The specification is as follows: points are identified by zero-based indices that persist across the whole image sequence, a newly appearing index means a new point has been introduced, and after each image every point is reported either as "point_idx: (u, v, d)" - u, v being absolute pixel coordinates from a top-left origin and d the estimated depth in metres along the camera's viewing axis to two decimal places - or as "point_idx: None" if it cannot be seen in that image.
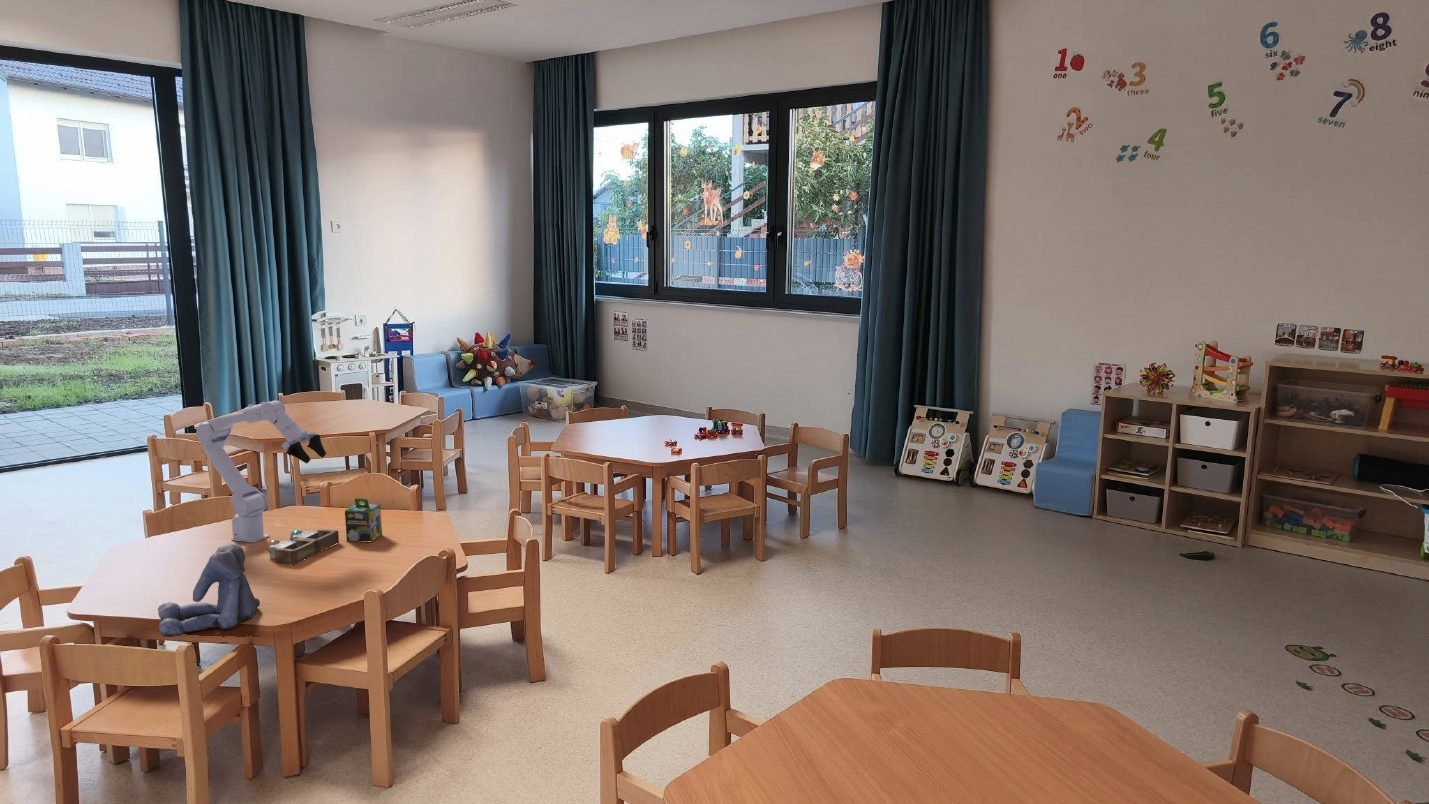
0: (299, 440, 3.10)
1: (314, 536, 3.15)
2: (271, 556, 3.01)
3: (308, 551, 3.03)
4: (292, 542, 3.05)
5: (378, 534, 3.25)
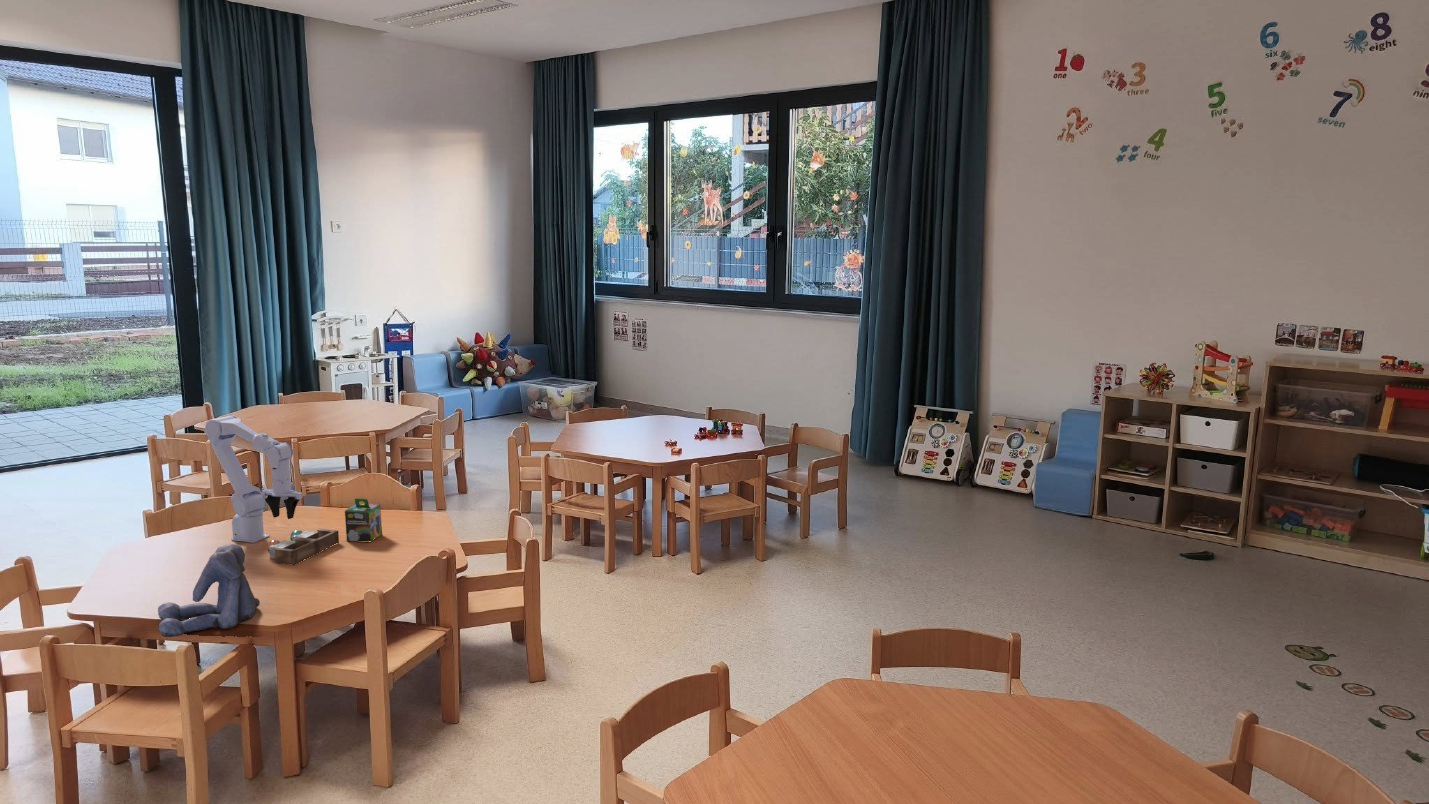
0: None
1: (314, 536, 3.15)
2: (271, 556, 3.01)
3: (308, 551, 3.03)
4: (292, 542, 3.05)
5: (378, 534, 3.25)
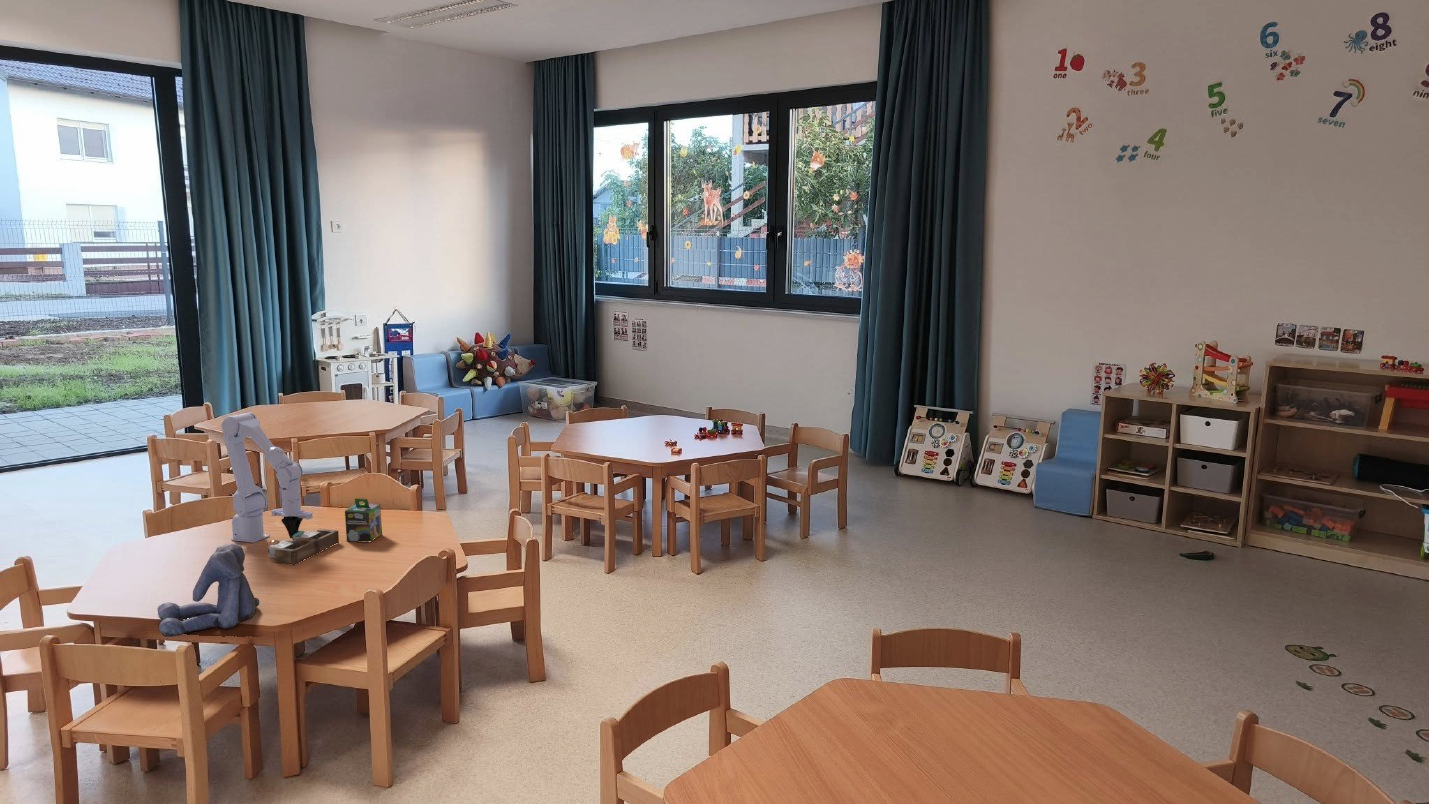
0: None
1: (316, 536, 3.15)
2: (271, 556, 3.01)
3: (308, 551, 3.03)
4: (292, 542, 3.05)
5: (378, 534, 3.25)
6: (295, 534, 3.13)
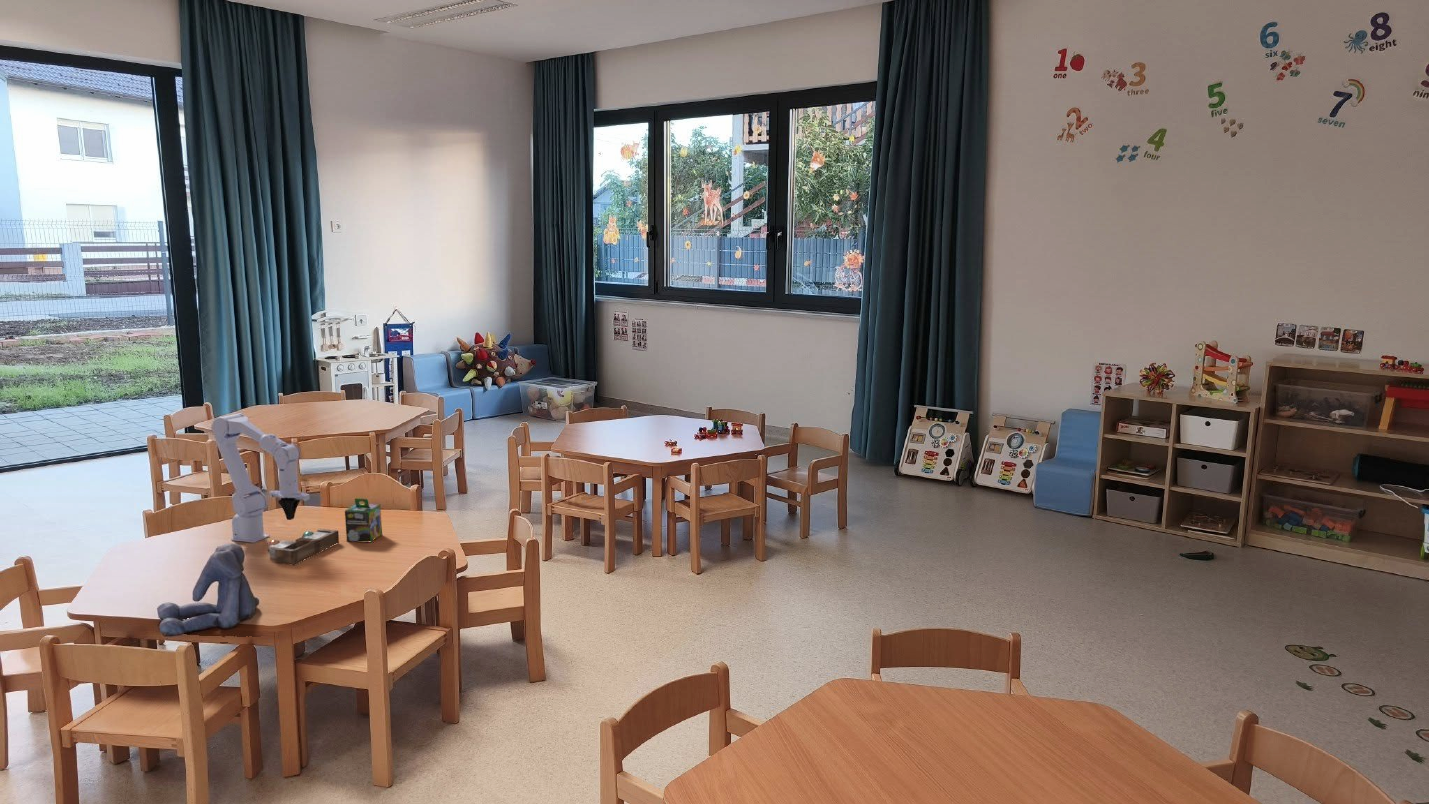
0: None
1: None
2: (271, 556, 3.01)
3: (308, 551, 3.03)
4: (292, 542, 3.05)
5: (378, 534, 3.25)
6: (304, 535, 3.12)
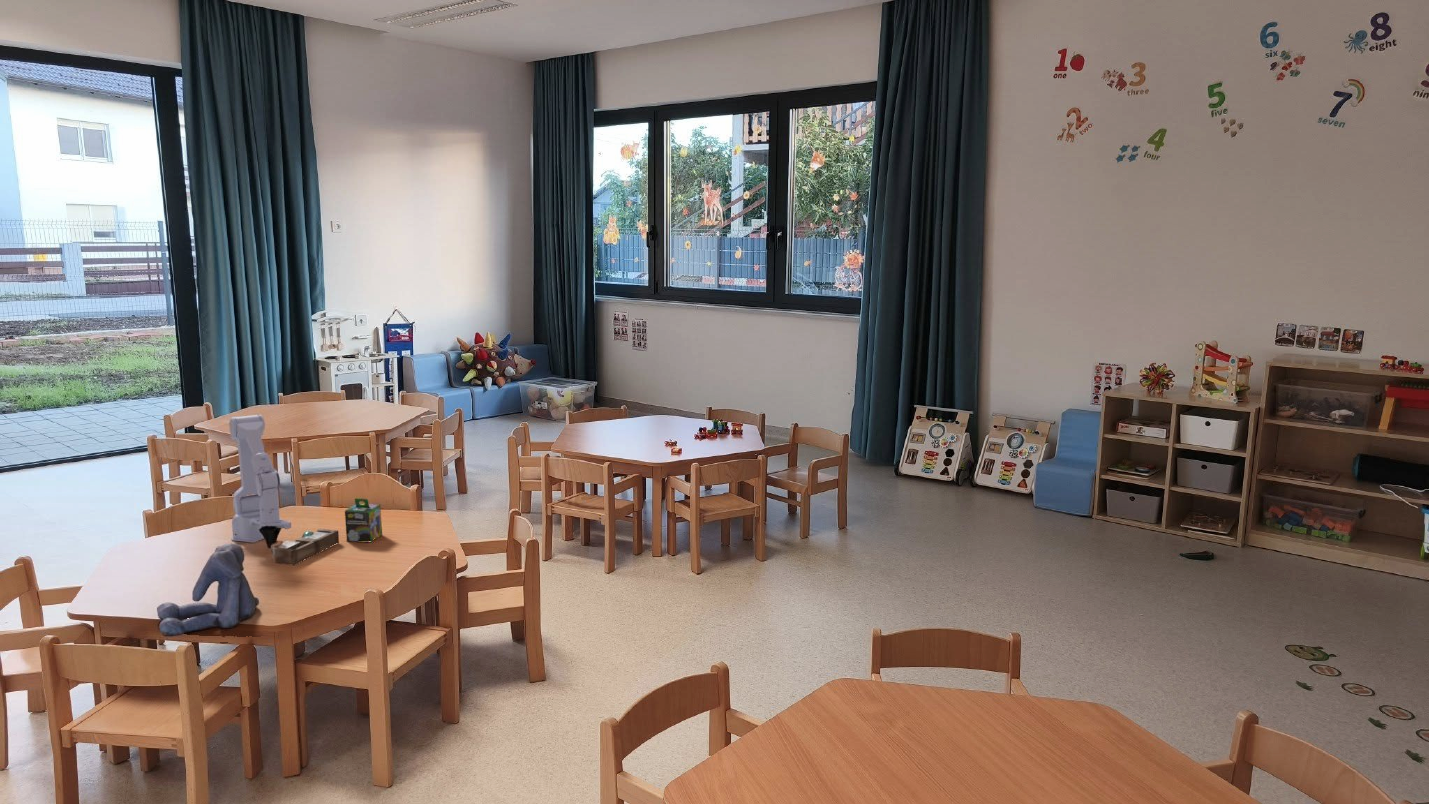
0: None
1: None
2: (274, 556, 3.01)
3: (308, 551, 3.03)
4: (295, 542, 3.05)
5: (378, 534, 3.25)
6: (304, 535, 3.12)
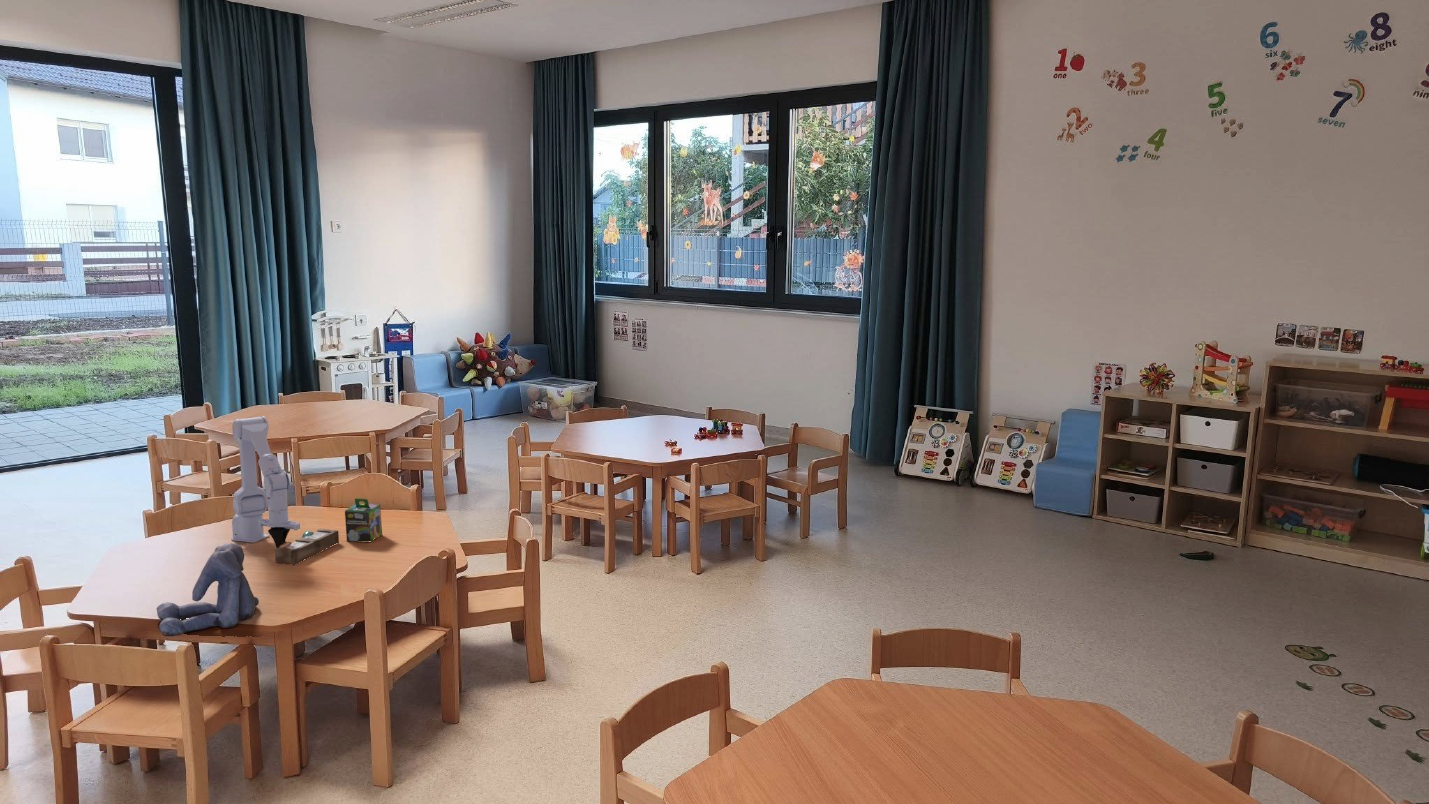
0: None
1: None
2: None
3: (308, 551, 3.03)
4: (304, 543, 3.04)
5: (378, 534, 3.25)
6: (304, 535, 3.12)
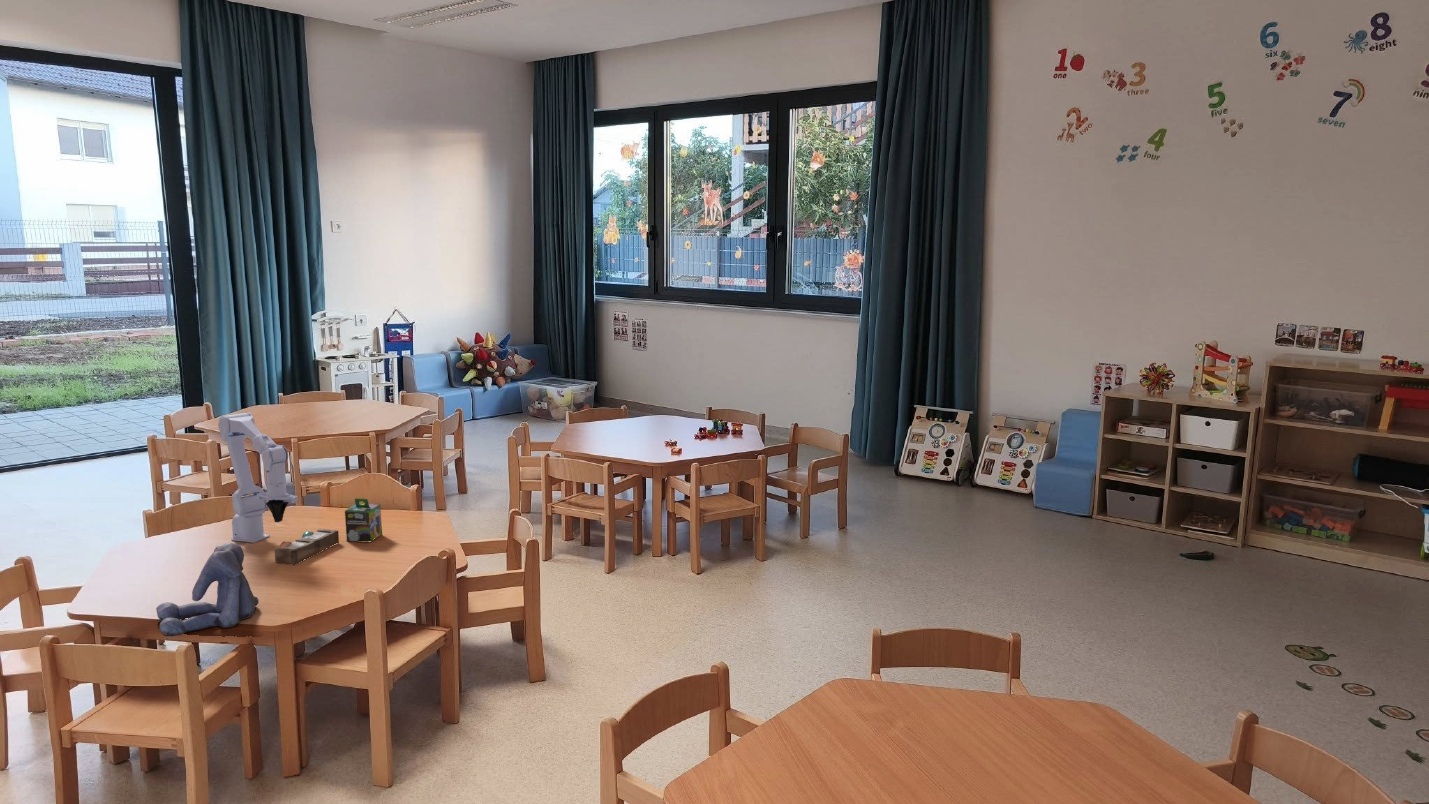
0: None
1: None
2: None
3: (308, 551, 3.03)
4: (304, 543, 3.04)
5: (378, 534, 3.25)
6: (304, 535, 3.12)
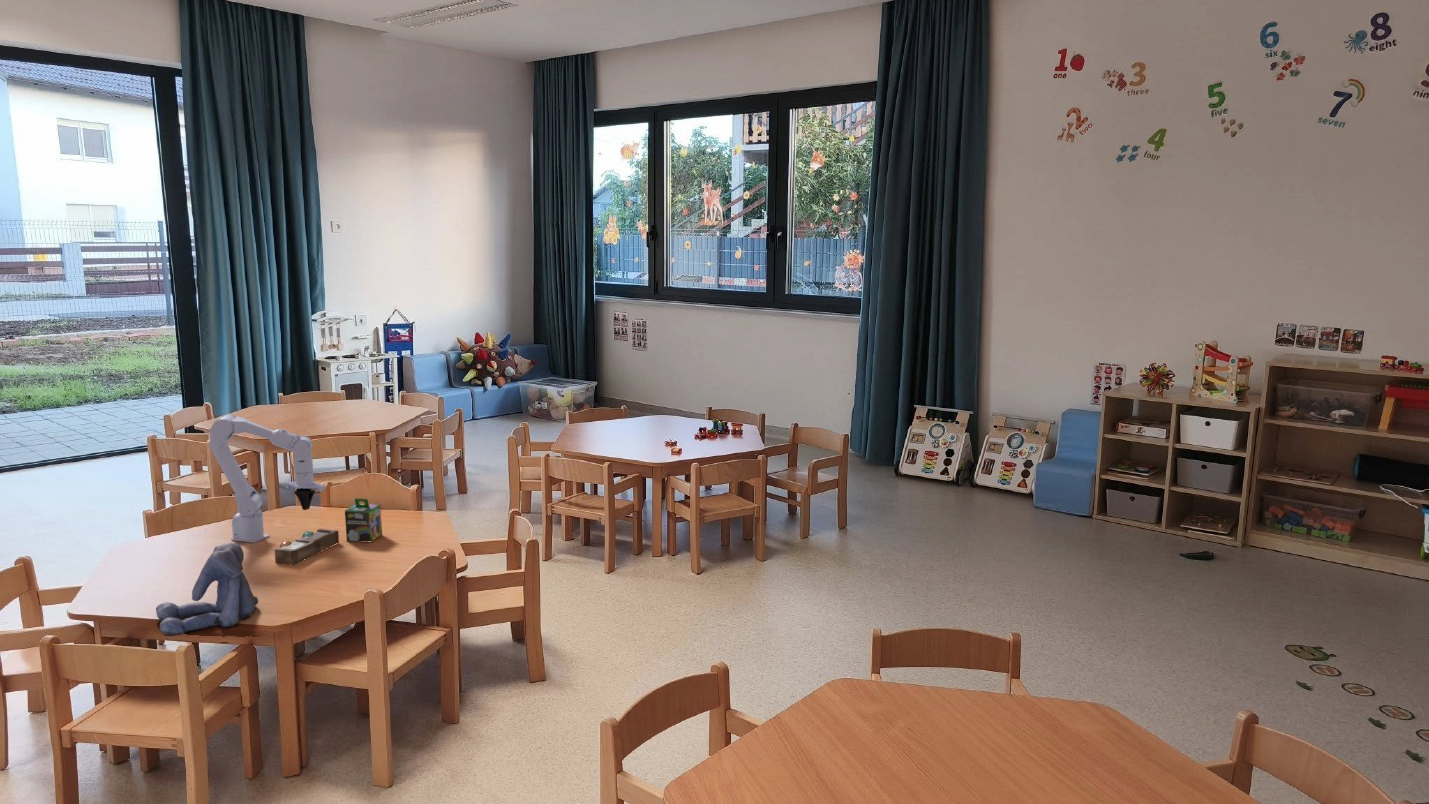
0: None
1: None
2: None
3: (308, 551, 3.03)
4: (304, 543, 3.04)
5: (378, 534, 3.25)
6: (304, 535, 3.12)
